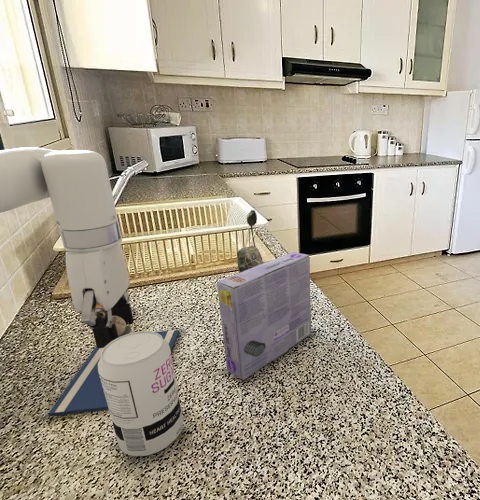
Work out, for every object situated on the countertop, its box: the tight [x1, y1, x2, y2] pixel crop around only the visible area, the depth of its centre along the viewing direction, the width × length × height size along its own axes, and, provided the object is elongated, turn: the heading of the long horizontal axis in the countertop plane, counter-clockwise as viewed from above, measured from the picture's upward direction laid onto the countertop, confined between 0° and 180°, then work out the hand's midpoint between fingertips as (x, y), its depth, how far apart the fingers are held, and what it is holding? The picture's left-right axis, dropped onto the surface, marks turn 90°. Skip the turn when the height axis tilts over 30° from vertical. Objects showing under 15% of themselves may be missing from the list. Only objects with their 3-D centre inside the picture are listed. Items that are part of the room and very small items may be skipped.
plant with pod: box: [236, 209, 264, 273], centre depth 91 cm, size 8×11×20 cm
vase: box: [96, 312, 133, 337], centre depth 62 cm, size 5×5×6 cm
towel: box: [47, 329, 180, 417], centre depth 66 cm, size 14×20×1 cm
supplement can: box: [98, 330, 184, 457], centre depth 50 cm, size 8×8×15 cm
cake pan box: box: [216, 251, 312, 381], centre depth 68 cm, size 19×5×18 cm, turn 145°
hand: (116, 333), depth 63 cm, fingers closed on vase, 5 cm apart
